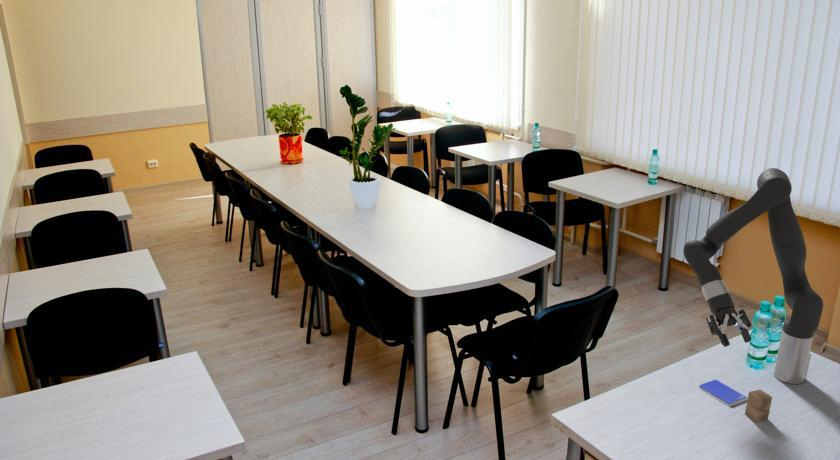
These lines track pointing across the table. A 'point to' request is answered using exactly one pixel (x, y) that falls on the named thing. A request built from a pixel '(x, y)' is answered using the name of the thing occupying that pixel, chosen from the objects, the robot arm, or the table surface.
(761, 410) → the walnut block
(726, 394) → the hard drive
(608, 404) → the table surface
